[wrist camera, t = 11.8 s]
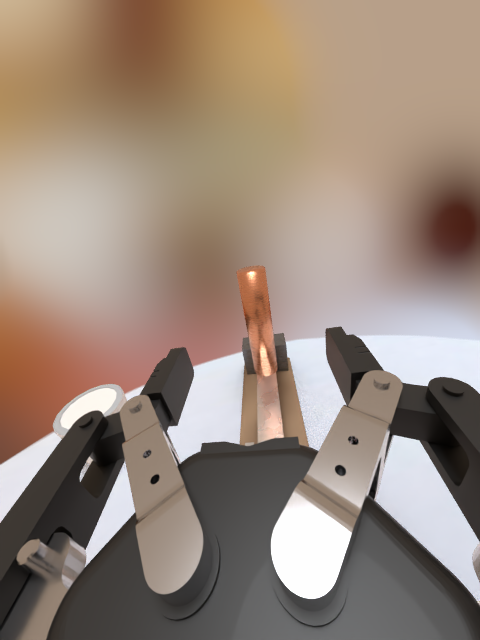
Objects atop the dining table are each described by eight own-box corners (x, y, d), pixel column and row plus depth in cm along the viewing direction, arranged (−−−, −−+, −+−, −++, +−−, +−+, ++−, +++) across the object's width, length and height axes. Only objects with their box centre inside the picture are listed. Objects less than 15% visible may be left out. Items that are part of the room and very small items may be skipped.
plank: (289, 362, 36) (289, 357, 36) (366, 719, 11) (368, 717, 11) (245, 367, 37) (244, 362, 37) (227, 707, 12) (223, 704, 12)
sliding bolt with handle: (276, 359, 35) (263, 257, 28) (294, 492, 19) (274, 333, 12) (256, 361, 35) (239, 261, 28) (258, 493, 20) (219, 339, 13)
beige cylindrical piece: (74, 485, 25) (36, 443, 21) (97, 430, 31) (71, 392, 28) (139, 466, 25) (111, 422, 22) (149, 416, 31) (129, 377, 28)
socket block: (286, 357, 36) (283, 333, 34) (288, 370, 33) (285, 344, 31) (247, 361, 36) (243, 337, 34) (247, 374, 34) (242, 349, 32)
